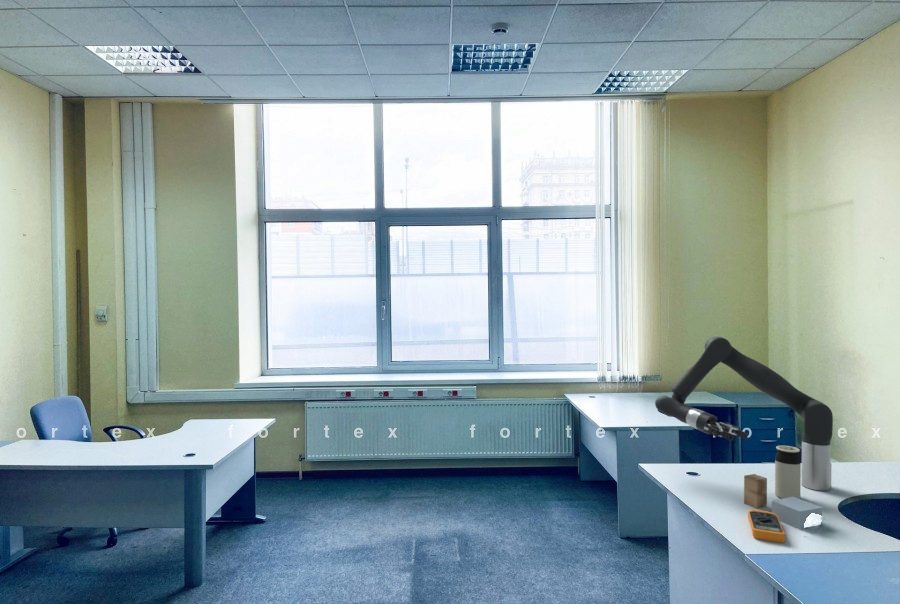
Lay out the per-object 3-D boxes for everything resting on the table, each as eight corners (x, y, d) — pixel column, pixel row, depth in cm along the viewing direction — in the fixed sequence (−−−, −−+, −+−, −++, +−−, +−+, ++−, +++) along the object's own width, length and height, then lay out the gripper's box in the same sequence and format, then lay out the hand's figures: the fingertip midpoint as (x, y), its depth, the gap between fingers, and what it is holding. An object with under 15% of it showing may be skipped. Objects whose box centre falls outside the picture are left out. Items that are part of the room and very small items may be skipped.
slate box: (793, 514, 185) (793, 496, 185) (822, 525, 175) (822, 507, 175) (771, 518, 181) (771, 500, 181) (799, 530, 172) (800, 511, 172)
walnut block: (754, 501, 195) (754, 473, 195) (766, 506, 191) (766, 478, 191) (744, 503, 194) (744, 475, 193) (756, 508, 189) (756, 480, 189)
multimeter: (776, 522, 178) (776, 511, 178) (785, 545, 162) (785, 533, 162) (747, 518, 182) (747, 507, 182) (753, 540, 165) (753, 528, 165)
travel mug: (787, 501, 195) (787, 451, 195) (769, 493, 203) (770, 445, 203) (805, 499, 197) (806, 450, 197) (787, 492, 205) (788, 444, 204)
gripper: (691, 412, 209) (730, 428, 195) (714, 410, 216) (753, 426, 202) (687, 430, 210) (726, 448, 196) (711, 428, 217) (749, 445, 203)
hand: (740, 437), depth 199 cm, fingers open, 8 cm apart
